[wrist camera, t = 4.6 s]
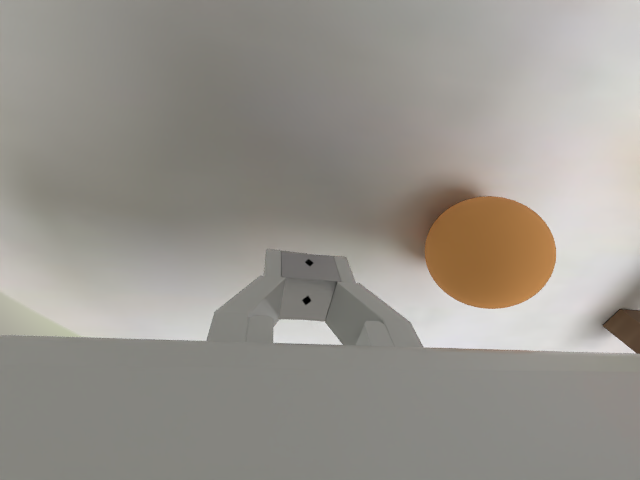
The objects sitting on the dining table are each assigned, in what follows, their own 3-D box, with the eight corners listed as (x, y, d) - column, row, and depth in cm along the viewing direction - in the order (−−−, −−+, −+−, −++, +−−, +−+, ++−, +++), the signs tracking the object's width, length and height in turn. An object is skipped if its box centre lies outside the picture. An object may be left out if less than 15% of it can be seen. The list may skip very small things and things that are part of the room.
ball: (432, 172, 14) (506, 223, 9) (519, 188, 15) (624, 241, 11) (395, 258, 17) (438, 331, 12) (471, 267, 18) (537, 336, 13)
